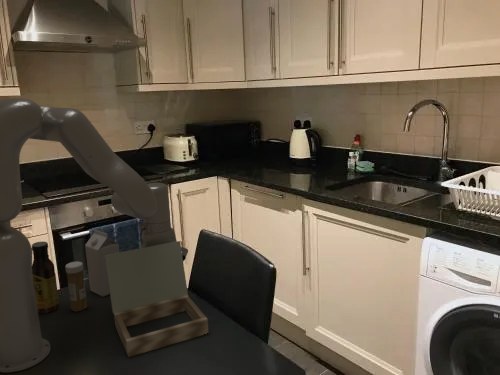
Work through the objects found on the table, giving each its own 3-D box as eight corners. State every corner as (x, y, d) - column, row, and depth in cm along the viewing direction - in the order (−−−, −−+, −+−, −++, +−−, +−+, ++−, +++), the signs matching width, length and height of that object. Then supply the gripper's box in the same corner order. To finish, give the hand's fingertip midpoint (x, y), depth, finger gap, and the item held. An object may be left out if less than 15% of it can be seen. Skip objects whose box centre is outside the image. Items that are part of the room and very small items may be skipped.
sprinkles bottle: (89, 308, 125) (84, 264, 122) (73, 313, 122) (67, 268, 119) (85, 302, 128) (80, 259, 125) (69, 307, 126) (63, 263, 123)
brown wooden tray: (128, 357, 101) (126, 341, 101) (115, 327, 114) (114, 313, 114) (208, 333, 110) (207, 319, 110) (188, 308, 123) (187, 295, 122)
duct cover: (104, 255, 114) (104, 255, 114) (113, 313, 113) (112, 312, 114) (180, 241, 123) (179, 241, 123) (187, 294, 123) (187, 294, 123)
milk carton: (110, 282, 141) (104, 226, 137) (123, 288, 137) (117, 230, 132) (90, 290, 136) (83, 232, 131) (103, 297, 131) (96, 237, 127)
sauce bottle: (31, 309, 125) (22, 243, 120) (53, 301, 129) (45, 237, 125) (41, 317, 121) (31, 249, 116) (63, 308, 125) (55, 242, 121)
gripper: (130, 234, 119) (135, 292, 123) (190, 224, 127) (193, 279, 131) (124, 227, 126) (129, 282, 129) (181, 218, 133) (185, 270, 137)
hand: (161, 280), depth 130 cm, fingers open, 9 cm apart
